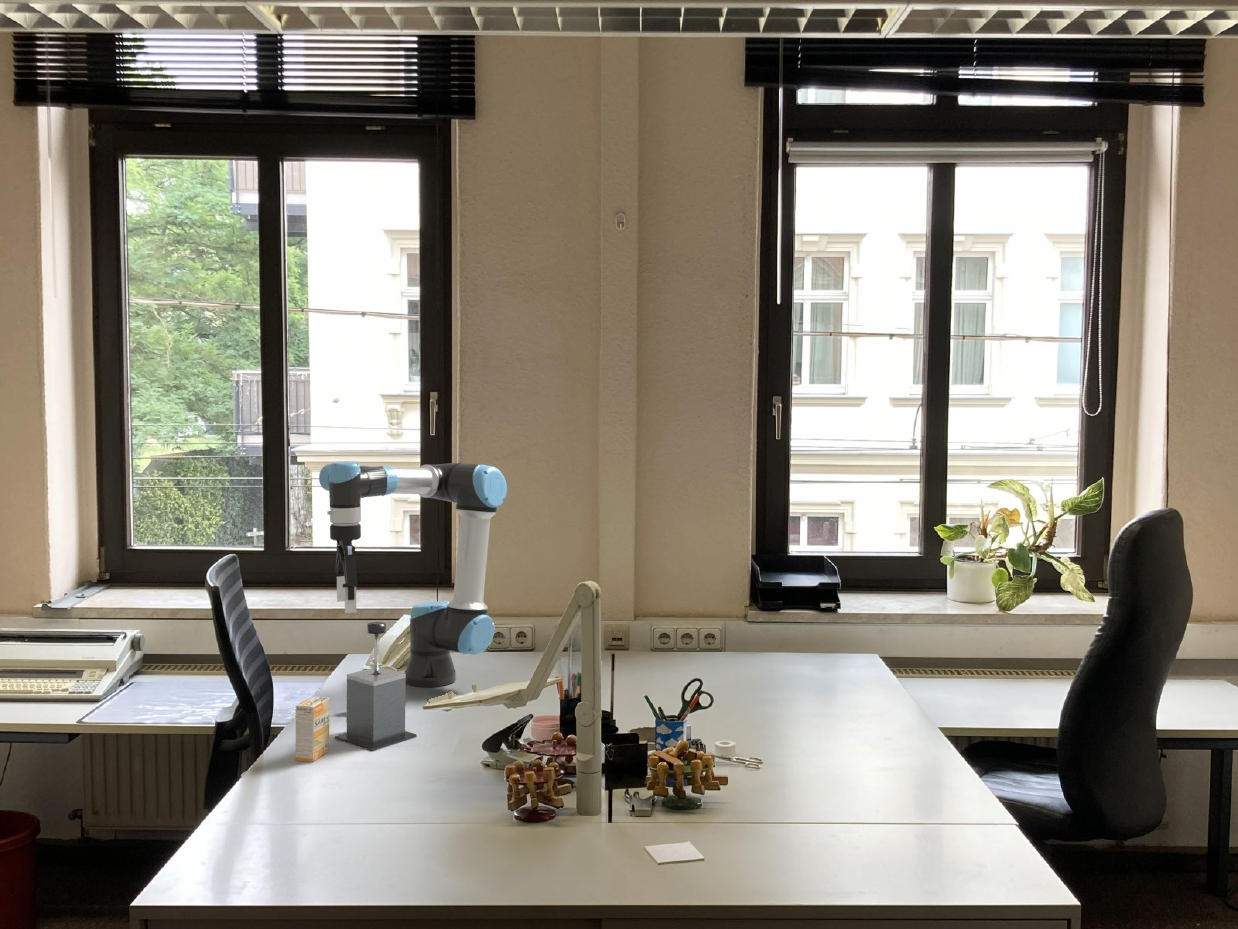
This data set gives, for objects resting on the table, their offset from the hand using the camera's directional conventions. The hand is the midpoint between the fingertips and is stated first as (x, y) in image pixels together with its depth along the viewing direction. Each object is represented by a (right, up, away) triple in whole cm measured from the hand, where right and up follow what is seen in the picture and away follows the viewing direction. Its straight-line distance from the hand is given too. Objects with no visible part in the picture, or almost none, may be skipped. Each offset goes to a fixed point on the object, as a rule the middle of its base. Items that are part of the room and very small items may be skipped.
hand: (346, 606), depth 271 cm
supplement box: (-3, -33, -20) cm, 38 cm away
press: (+9, -32, -6) cm, 33 cm away
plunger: (+9, -18, -7) cm, 21 cm away
